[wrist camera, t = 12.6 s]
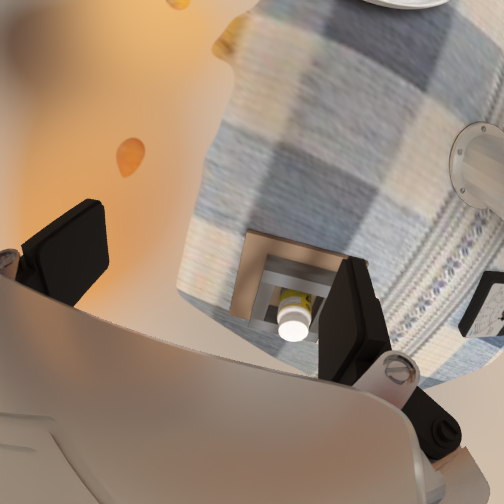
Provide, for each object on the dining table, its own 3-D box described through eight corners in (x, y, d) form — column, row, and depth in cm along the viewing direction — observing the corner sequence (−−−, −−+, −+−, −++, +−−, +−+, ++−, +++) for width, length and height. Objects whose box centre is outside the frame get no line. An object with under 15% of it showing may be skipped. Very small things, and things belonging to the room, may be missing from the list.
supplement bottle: (312, 303, 45) (311, 343, 37) (282, 305, 46) (277, 344, 38) (310, 278, 42) (310, 318, 35) (278, 280, 43) (273, 319, 36)
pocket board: (367, 261, 40) (373, 281, 36) (329, 334, 49) (330, 356, 45) (247, 229, 41) (241, 246, 37) (230, 310, 49) (223, 331, 45)
